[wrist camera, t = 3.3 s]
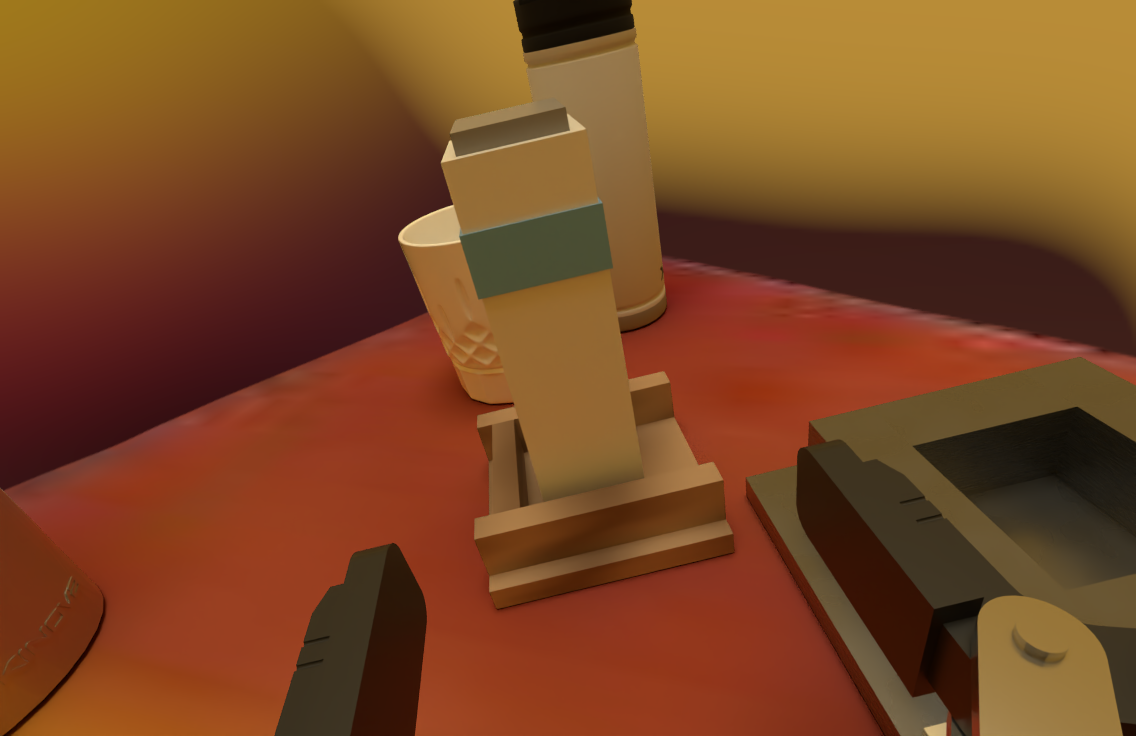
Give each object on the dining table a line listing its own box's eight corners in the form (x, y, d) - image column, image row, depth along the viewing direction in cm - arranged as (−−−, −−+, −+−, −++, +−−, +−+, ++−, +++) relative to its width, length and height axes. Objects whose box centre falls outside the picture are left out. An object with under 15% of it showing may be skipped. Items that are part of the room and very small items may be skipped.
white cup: (492, 339, 39) (450, 199, 34) (596, 342, 36) (565, 187, 31) (430, 406, 33) (366, 248, 28) (546, 417, 30) (499, 241, 25)
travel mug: (688, 299, 38) (656, -55, 28) (625, 342, 35) (563, -42, 25) (622, 284, 43) (573, -27, 32) (560, 321, 39) (484, -13, 29)
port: (963, 872, 12) (1001, 792, 10) (746, 495, 23) (743, 418, 21) (1568, 723, 12) (1724, 615, 10) (1077, 416, 23) (1107, 331, 21)
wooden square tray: (496, 609, 20) (473, 555, 19) (494, 454, 28) (477, 406, 27) (734, 552, 20) (730, 493, 19) (666, 413, 28) (660, 363, 27)
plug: (548, 526, 22) (429, 140, 14) (539, 458, 25) (441, 121, 18) (651, 502, 22) (586, 104, 14) (628, 437, 26) (566, 92, 18)
